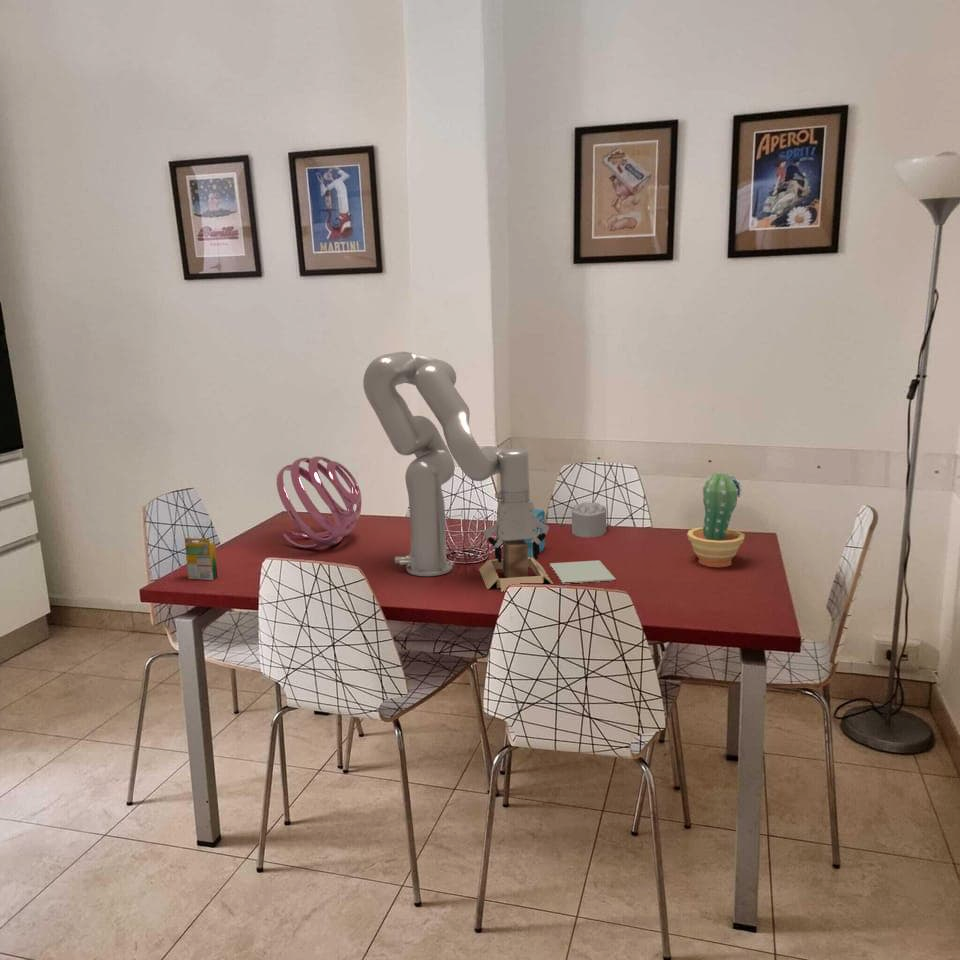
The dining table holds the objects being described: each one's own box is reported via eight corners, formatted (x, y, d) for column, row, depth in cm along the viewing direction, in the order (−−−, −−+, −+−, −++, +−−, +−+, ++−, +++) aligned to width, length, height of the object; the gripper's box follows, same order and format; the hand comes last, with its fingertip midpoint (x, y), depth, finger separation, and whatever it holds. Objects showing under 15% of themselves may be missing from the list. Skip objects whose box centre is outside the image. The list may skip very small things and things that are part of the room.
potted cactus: (749, 571, 235) (754, 479, 229) (691, 571, 236) (694, 479, 230) (737, 553, 250) (741, 467, 244) (681, 553, 251) (684, 467, 246)
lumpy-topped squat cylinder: (607, 527, 280) (608, 500, 278) (603, 538, 267) (603, 511, 266) (575, 525, 282) (575, 499, 280) (568, 537, 270) (568, 509, 268)
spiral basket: (233, 486, 259) (303, 436, 252) (283, 488, 285) (348, 442, 279) (277, 569, 253) (350, 519, 247) (323, 563, 280) (391, 518, 273)
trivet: (562, 584, 228) (562, 582, 228) (549, 565, 243) (549, 563, 243) (615, 581, 229) (615, 578, 229) (599, 562, 245) (599, 560, 245)
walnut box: (508, 583, 229) (508, 546, 227) (503, 572, 238) (502, 536, 236) (528, 582, 230) (527, 545, 228) (522, 571, 239) (521, 535, 236)
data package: (531, 560, 248) (530, 519, 245) (516, 558, 250) (515, 517, 247) (545, 548, 259) (544, 508, 256) (530, 547, 261) (530, 507, 258)
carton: (488, 593, 223) (488, 583, 222) (477, 567, 243) (477, 557, 243) (556, 588, 225) (556, 578, 224) (539, 563, 245) (539, 553, 245)
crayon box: (218, 576, 240) (214, 535, 237) (213, 580, 237) (209, 539, 234) (193, 575, 241) (189, 534, 239) (188, 579, 238) (183, 538, 236)
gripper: (484, 502, 224) (487, 566, 228) (550, 497, 226) (552, 560, 230) (480, 495, 232) (483, 558, 235) (544, 490, 234) (546, 552, 237)
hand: (517, 559), depth 233 cm, fingers open, 9 cm apart
